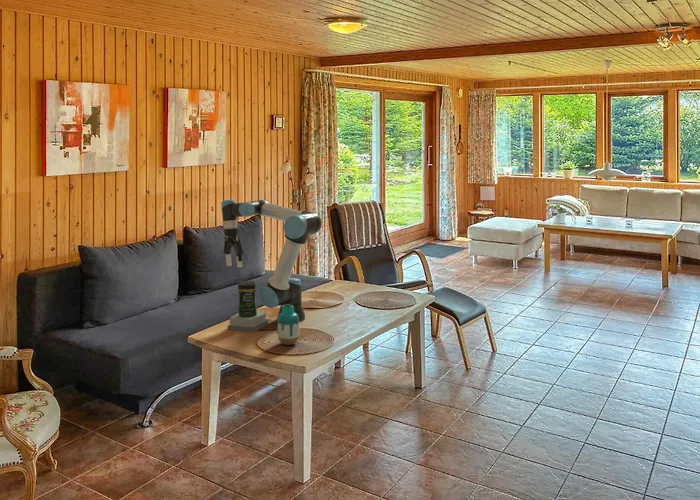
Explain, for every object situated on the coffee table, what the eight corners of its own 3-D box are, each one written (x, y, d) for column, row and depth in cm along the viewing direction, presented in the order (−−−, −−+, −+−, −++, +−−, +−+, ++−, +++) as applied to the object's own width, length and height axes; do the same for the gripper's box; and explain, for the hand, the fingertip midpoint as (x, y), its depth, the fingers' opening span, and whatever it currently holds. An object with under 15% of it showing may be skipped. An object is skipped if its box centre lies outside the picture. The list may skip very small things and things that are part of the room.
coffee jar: (238, 317, 336) (237, 283, 332) (238, 313, 343) (237, 279, 340) (257, 316, 337) (256, 282, 334) (257, 312, 345) (255, 279, 342)
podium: (268, 323, 346) (267, 312, 345) (255, 331, 331) (255, 320, 330) (241, 321, 351) (240, 310, 350) (227, 329, 336) (227, 318, 335)
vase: (300, 340, 317) (299, 302, 313) (299, 347, 306) (298, 308, 303) (278, 340, 316) (277, 303, 313) (276, 347, 306) (275, 308, 303)
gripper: (215, 228, 358) (219, 266, 360) (234, 229, 338) (238, 269, 340) (227, 227, 362) (231, 264, 365) (247, 227, 342) (251, 267, 344)
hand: (234, 266), depth 352 cm, fingers open, 13 cm apart
